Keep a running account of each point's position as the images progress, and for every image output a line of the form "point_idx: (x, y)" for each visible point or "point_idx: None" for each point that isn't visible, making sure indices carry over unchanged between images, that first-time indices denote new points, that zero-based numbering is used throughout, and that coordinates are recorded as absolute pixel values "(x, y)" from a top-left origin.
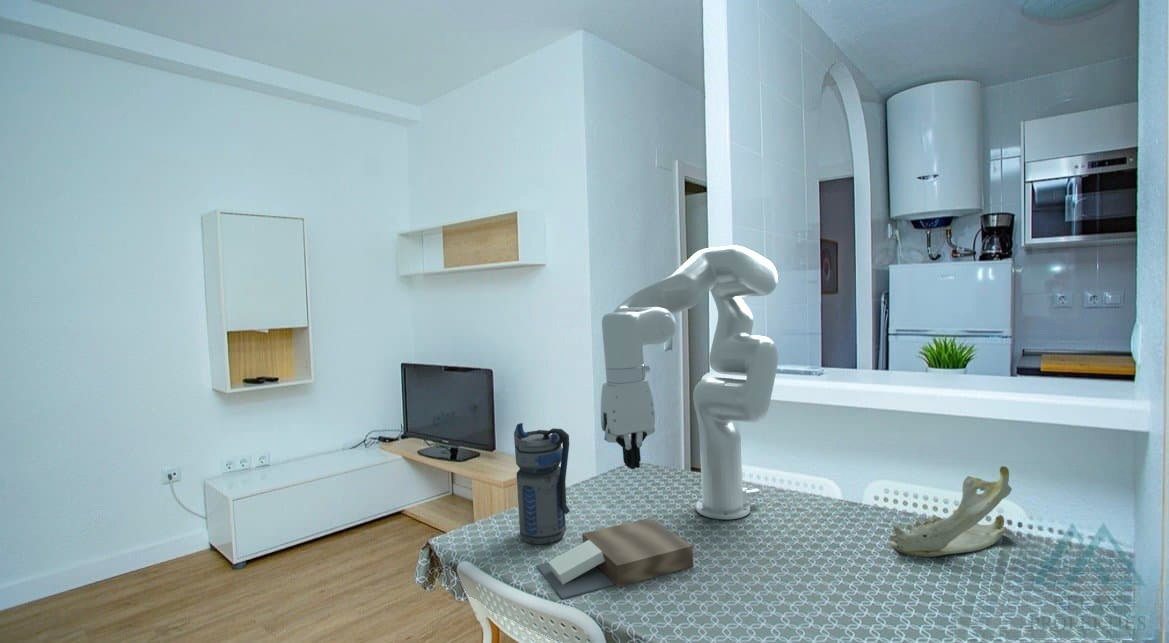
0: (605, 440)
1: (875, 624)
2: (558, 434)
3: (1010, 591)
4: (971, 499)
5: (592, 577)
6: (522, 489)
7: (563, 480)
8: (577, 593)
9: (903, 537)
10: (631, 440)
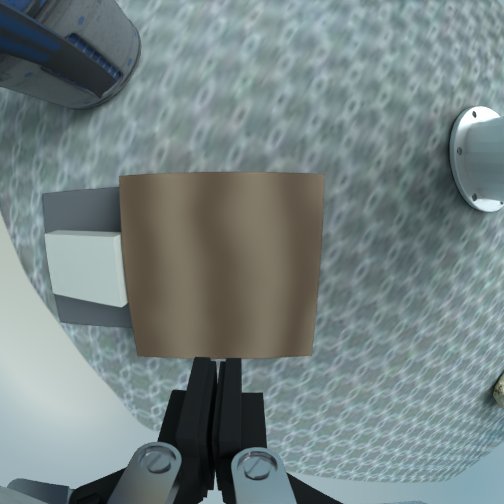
0: (18, 486)
1: (362, 472)
2: None
3: (469, 446)
4: None
5: None
6: None
7: (53, 61)
8: (81, 323)
9: (501, 400)
10: (233, 488)
